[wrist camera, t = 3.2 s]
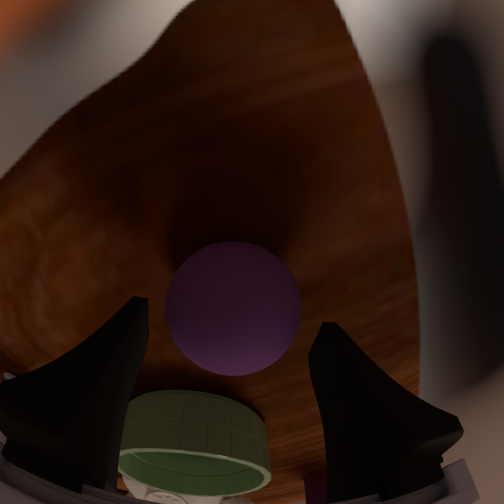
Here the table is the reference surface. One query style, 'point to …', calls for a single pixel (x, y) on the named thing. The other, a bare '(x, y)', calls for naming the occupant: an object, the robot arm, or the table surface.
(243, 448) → the sage bowl
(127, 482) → the telephone
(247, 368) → the purple ball
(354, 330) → the table surface
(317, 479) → the cup
